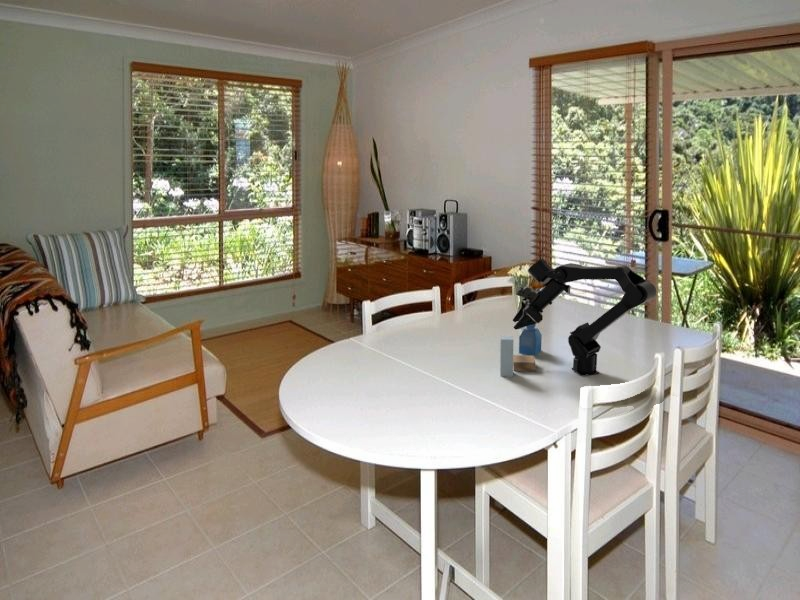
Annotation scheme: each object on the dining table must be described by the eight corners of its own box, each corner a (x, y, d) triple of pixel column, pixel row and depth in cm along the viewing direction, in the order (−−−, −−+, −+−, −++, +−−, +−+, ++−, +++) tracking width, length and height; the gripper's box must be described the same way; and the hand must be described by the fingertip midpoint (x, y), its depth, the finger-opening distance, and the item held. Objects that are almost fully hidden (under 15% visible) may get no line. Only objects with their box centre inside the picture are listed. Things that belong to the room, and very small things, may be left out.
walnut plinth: (533, 363, 193) (533, 355, 192) (535, 371, 186) (535, 362, 185) (512, 363, 194) (513, 355, 193) (513, 370, 187) (513, 362, 186)
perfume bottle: (541, 350, 206) (542, 319, 203) (535, 355, 201) (536, 323, 198) (525, 348, 209) (525, 317, 206) (518, 353, 204) (519, 321, 201)
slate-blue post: (512, 372, 186) (513, 335, 183) (512, 376, 182) (513, 339, 179) (500, 371, 187) (500, 335, 184) (500, 376, 183) (500, 339, 180)
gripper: (529, 271, 196) (496, 302, 200) (532, 282, 178) (497, 315, 182) (551, 293, 196) (519, 323, 201) (557, 306, 178) (521, 339, 183)
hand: (513, 324), depth 192 cm, fingers open, 9 cm apart
